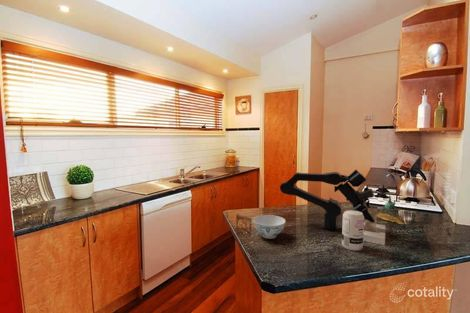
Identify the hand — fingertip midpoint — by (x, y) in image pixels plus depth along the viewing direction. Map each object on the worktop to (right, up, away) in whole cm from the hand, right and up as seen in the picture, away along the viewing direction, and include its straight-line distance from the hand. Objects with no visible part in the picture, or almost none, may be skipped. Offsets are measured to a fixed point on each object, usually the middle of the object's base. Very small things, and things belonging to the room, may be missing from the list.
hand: (374, 219), depth 118 cm
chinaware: (-49, -8, +1) cm, 50 cm away
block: (-1, -8, +2) cm, 8 cm away
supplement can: (-16, -9, -11) cm, 21 cm away
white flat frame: (-1, -8, +1) cm, 8 cm away
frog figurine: (+21, -6, +24) cm, 32 cm away
